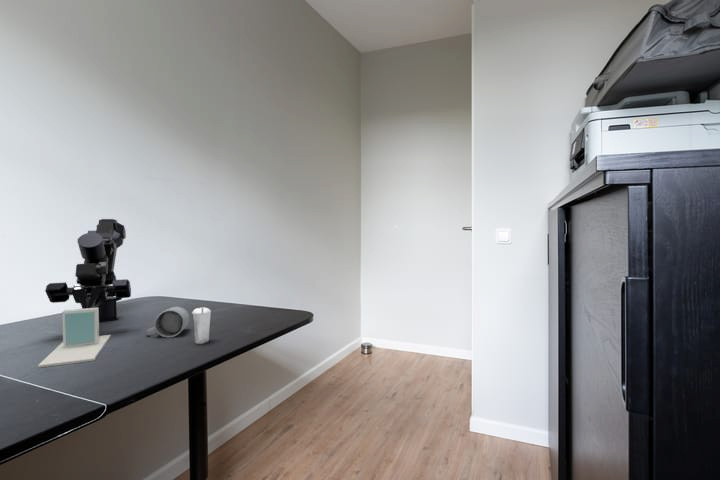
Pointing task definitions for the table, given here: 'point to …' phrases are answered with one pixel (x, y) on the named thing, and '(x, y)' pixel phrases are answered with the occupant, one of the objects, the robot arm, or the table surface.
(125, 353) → the table surface
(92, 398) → the table surface
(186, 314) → the ceramic mug
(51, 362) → the mat
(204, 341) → the milkshake
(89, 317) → the tile
